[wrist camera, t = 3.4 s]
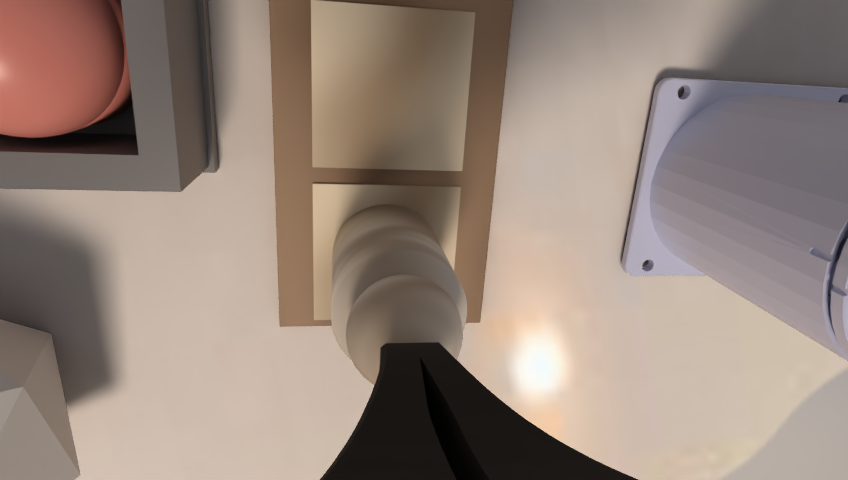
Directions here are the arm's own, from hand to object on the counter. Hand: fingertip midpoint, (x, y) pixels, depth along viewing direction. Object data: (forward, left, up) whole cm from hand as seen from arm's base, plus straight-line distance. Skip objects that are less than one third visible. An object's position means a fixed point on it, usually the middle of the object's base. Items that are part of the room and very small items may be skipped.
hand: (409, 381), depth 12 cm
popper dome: (+10, -7, -9) cm, 15 cm away
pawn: (0, 0, -9) cm, 9 cm away
